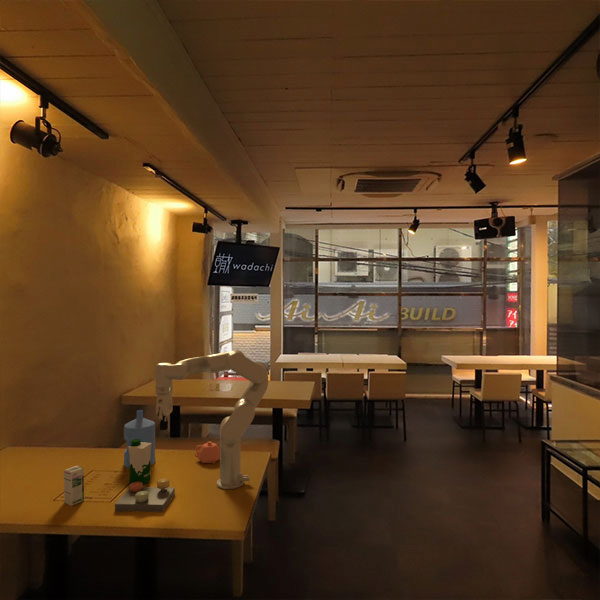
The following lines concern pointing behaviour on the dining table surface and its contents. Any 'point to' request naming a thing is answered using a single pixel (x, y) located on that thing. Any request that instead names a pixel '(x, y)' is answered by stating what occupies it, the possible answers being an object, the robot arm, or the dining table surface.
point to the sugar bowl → (208, 452)
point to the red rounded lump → (136, 486)
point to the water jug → (139, 435)
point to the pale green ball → (142, 496)
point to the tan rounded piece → (163, 484)
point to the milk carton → (139, 461)
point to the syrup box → (73, 485)
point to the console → (153, 504)
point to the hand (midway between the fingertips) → (163, 429)
